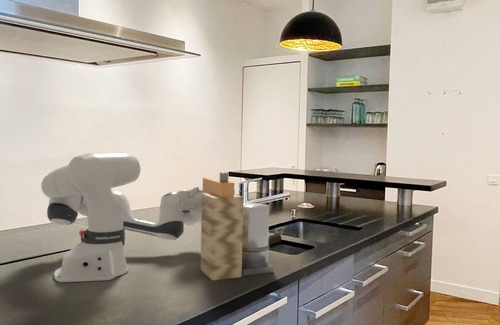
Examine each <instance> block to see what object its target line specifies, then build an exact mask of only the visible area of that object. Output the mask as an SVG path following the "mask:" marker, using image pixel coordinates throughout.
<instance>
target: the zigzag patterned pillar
mask: <svg viewBox="0 0 500 325" xmlns="http://www.w3.org/2000/svg"><path fill="white" fill-rule="evenodd" d="M243 204H244V196H242V195H238V194H234V197H219V196H216V195H213V194H211V193H202V219H201V220H200V222H201V227H200V228H201V233H200V238H201V239H200V271H201V272H202V273H204V275H206V276H207V277H208V278H209V279H210V280H211V281H218V280H219V281H220V280H227V279H235V278H242V276H243V275H242V231H243Z"/></svg>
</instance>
